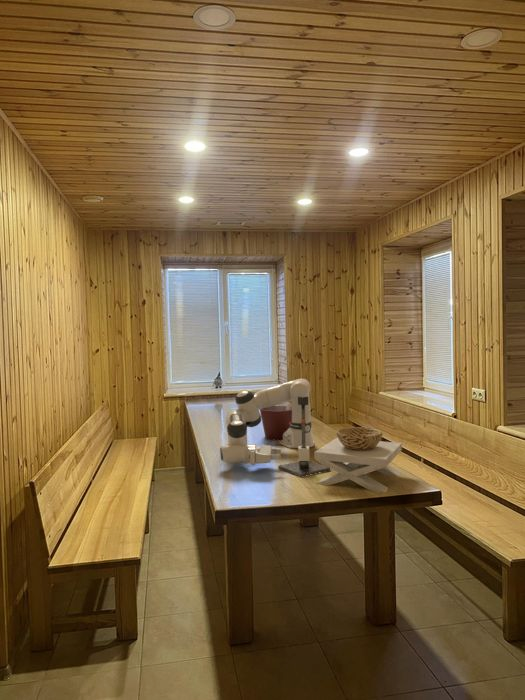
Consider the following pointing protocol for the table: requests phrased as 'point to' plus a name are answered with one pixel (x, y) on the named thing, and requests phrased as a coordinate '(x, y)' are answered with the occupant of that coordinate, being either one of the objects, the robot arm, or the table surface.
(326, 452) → the white table with basket
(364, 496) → the table surface
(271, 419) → the bucket
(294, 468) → the rod stand
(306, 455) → the sleeve
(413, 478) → the table surface
